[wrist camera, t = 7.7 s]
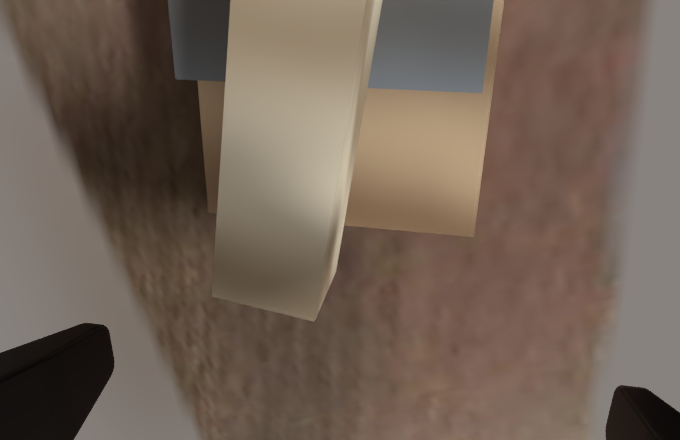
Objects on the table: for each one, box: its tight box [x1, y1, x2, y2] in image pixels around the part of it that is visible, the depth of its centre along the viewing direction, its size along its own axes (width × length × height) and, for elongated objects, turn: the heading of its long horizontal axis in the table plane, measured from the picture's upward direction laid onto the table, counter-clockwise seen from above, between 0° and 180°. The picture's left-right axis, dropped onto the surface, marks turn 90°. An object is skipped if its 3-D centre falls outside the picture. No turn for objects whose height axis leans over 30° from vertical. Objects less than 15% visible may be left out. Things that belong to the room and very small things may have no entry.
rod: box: [212, 0, 382, 322], centre depth 13 cm, size 14×3×3 cm, turn 171°
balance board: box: [168, 0, 504, 237], centre depth 16 cm, size 13×10×4 cm
